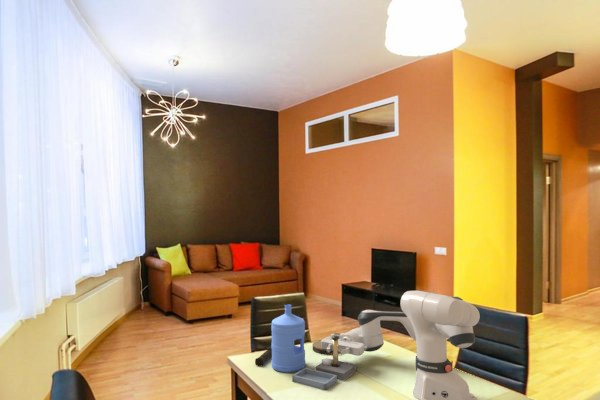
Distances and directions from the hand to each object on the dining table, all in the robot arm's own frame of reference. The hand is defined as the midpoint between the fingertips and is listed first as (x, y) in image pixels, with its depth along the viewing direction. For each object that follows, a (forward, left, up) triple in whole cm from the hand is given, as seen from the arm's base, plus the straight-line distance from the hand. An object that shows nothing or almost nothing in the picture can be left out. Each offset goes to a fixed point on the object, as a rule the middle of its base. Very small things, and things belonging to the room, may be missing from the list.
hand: (334, 351), depth 176 cm
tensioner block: (0, -1, -10) cm, 10 cm away
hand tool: (+37, +2, -10) cm, 38 cm away
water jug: (+22, +4, -10) cm, 24 cm away
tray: (+3, +12, -10) cm, 16 cm away
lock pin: (0, -1, -10) cm, 10 cm away
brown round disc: (+18, -26, -10) cm, 33 cm away
